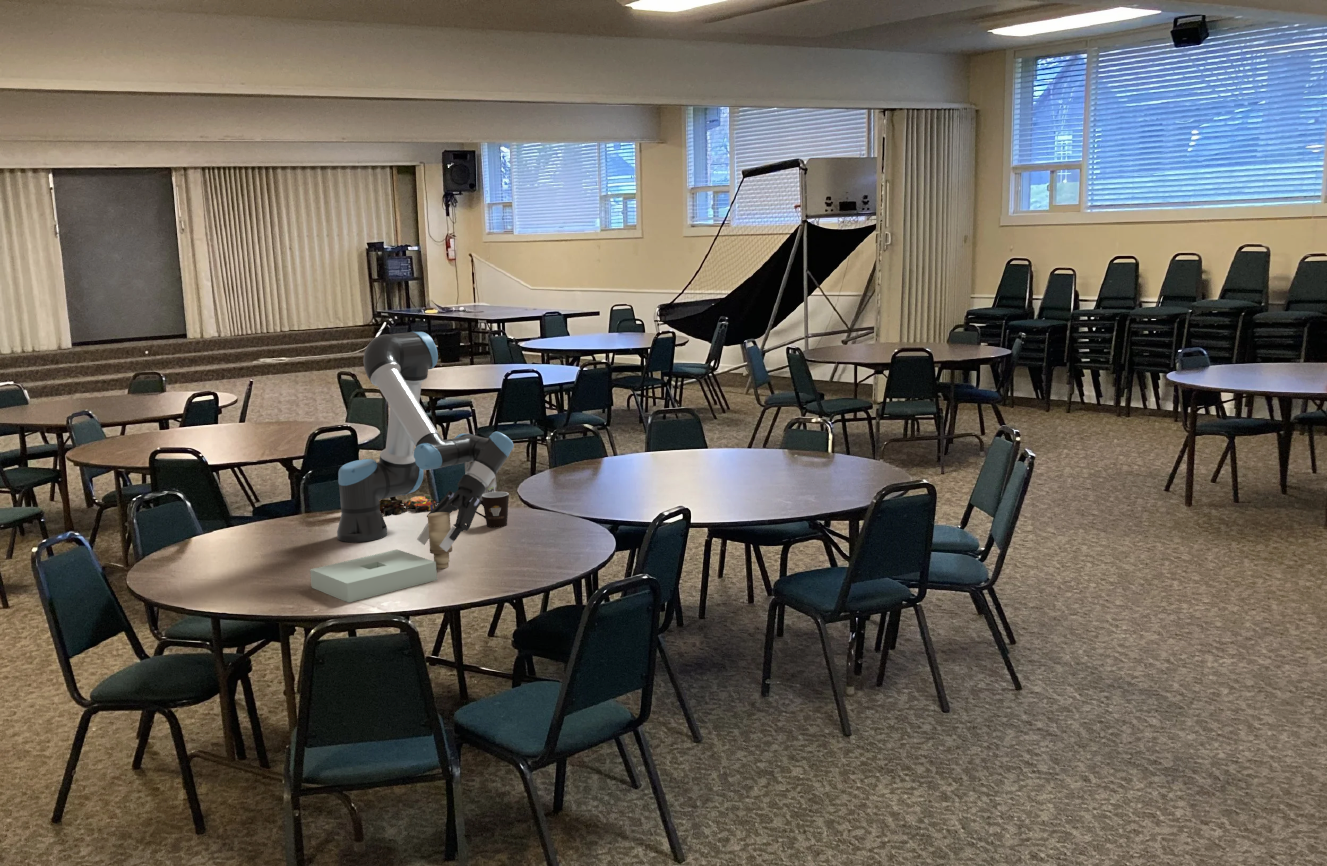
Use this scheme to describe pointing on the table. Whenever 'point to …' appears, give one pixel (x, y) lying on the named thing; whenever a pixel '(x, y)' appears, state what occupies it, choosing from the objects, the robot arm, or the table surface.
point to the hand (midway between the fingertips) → (431, 545)
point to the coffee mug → (495, 508)
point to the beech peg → (439, 537)
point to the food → (397, 508)
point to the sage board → (373, 575)
